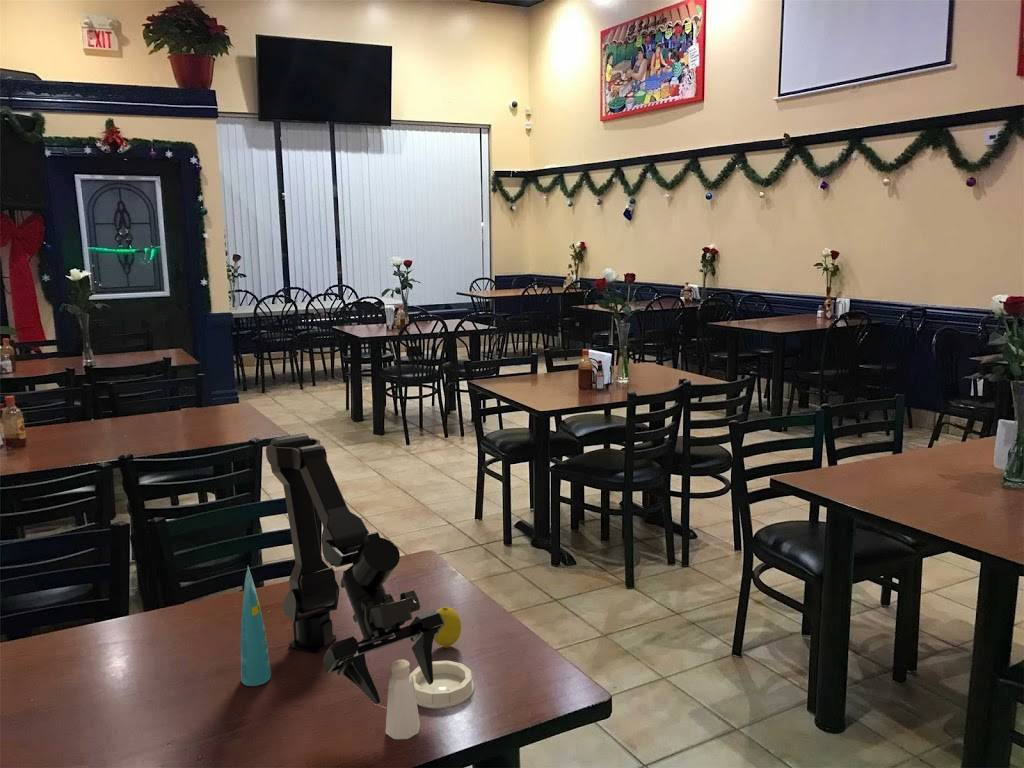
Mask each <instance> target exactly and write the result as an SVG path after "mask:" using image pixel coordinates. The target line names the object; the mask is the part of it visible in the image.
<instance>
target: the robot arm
mask: <svg viewBox="0 0 1024 768" xmlns="http://www.w3.org/2000/svg"><path fill="white" fill-rule="evenodd" d="M265 456H266V460H267V462H268V463H269V465H270V469H271V473H272V474H273V475H274V476H275V477H276V479H277V480H278V481H279V482H280V484H282V486H283V492H284V498H285V504H286V511H287V517H288V522H289V523H288V524H289V528H290V529H289V530H290V534H291V535H290V536H291V537H290V538H291V542H292V543H291V544H292V548H293V555H294V560H295V561H294V562H295V564H294V565H293V569H292V571H291V574H290V576H289V578H288V579H289V580H288V583H289V584H288V585H289V591H288V592H287V595H286V596H285V598H284V600H283V602H282V606H283V611H284V615H285V616H286V617H288V618H289V619H290V621H292V630H293V640H292V641H291V642H290V643H288V648H292V649H296V650H300V651H305V652H309V653H313V654H317V653H319V652H320V651H322V650H323V649H324V648H326V647H327V646H329V644H331V645H330V646H329V648H328V649H327V651H326V652H325V654H324V656H323V657H322V658H323V661H322V662H323V666H324V669H325V671H326V674H331V673H334V672H335V673H336V674H337V676H338V677H339V676H344V677H345V678H347V679H348V680H350V681H351V682H352V683H353V684H354V685H355V686H357V687H358V689H360V690H361V691H362V692H363V694H364V695H366V696H367V697H368V698H369V699H370V700H371V702H372V703H373V704H374V705H375V706H378V705H380V703H381V698H380V696H379V692H378V689H377V687H376V685H375V683H374V680H373V678H372V677H371V673H370V672H369V669H368V666H367V661H366V656H365V655H366V654H368V653H370V652H373V651H376V650H380V649H382V648H385V647H388V646H391V645H393V644H398V643H400V642H402V641H406V640H410V642H413V643H414V644H413V646H412V647H411V650H412V653H413V655H414V657H415V659H416V661H417V663H418V666H420V668H421V671H422V673H423V675H424V677H425V679H426V681H427V682H428V684H429V685H431V684H432V683H433V667H432V662H433V642H434V638H435V637H436V636H437V634H438V633H439V631H440V630H441V628H442V627H443V626H444V625H445V622H444V620H443V618H442V615H441V614H440V613H438V612H437V610H431V611H428V612H425V613H422V614H420V615H416V616H415V618H414V619H413V615H412V613H415V612H417V611H419V610H420V609H421V605H420V599H419V597H418V595H417V593H416V591H415V589H412V590H411V589H410V590H408V591H405V592H401V593H400V594H399V596H400V597H399V600H395V599H394V597H393V596H392V595H391V593H388V594H387V592H386V591H387V590H386V589H385V586H384V584H385V583H386V582H387V580H388V579H389V577H390V576H391V575H392V573H393V572H394V570H395V569H396V567H397V566H398V564H399V562H400V559H401V557H400V556H401V555H400V554H401V553H400V550H399V548H398V546H397V545H395V544H394V543H393V542H392V541H391V540H390V539H387V538H384V537H381V536H380V533H379V532H378V531H376V532H371V531H369V530H368V529H367V527H366V525H365V523H364V521H363V520H362V518H361V517H359V516H358V515H356V514H355V513H353V512H352V511H351V510H350V509H349V508H348V507H349V506H348V505H347V504H346V501H345V498H344V497H343V494H342V491H341V489H340V487H339V485H338V483H337V480H336V479H335V476H334V474H333V472H332V470H331V466H330V465H329V463H328V456H327V451H326V449H325V447H324V445H322V444H321V440H320V439H316V438H313V437H309V435H308V434H307V433H305V432H303V433H297V434H290V435H284V436H278V437H272V438H271V440H270V444H268V445H267V446H266V448H265ZM315 509H316V512H315ZM315 513H317V515H318V517H319V520H320V522H321V525H322V528H323V529H322V533H321V537H320V539H319V533H318V532H319V531H318V526H317V520H316V514H315ZM320 542H321V543H320ZM321 547H322V549H321ZM322 555H323V557H322ZM323 558H324V560H325V561H324V560H323ZM326 562H327V563H328V564H329V565H328V564H327V563H326ZM350 564H352V565H351V566H349V567H348V568H347V569H346V570H344V571H343V572H342V578H341V580H340V585H339V583H338V581H337V579H336V575H335V574H336V573H335V571H334V569H333V567H335V568H340V567H344V566H347V565H350ZM330 566H331V567H330ZM340 588H342V589H345V592H346V595H347V598H348V600H349V602H350V603H349V604H350V606H351V607H352V611H353V616H352V619H353V621H354V623H357V624H358V626H359V630H360V632H361V634H362V640H360V641H358V640H357V638H356V637H354V636H350V637H348V638H347V637H346V638H345V639H341V640H339V641H335V642H333V641H334V640H337V638H338V636H337V635H336V634H333V633H334V632H333V620H332V619H331V611H337V610H338V604H339V598H340V597H339V596H340ZM409 621H412V622H410V624H409V625H406V626H403V625H404V624H405V623H406V622H409ZM401 626H403V627H401Z"/></svg>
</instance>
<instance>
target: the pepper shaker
mask: <svg viewBox="0 0 1024 768" xmlns="http://www.w3.org/2000/svg"><path fill="white" fill-rule="evenodd" d="M410 665H411V664H410V662H409V661H408V660H407V659H397V660H394V661H393V662H392V663H391V664H390V668H391V676H390V677H389V681H388V687H387V689H388V690H387V705H386V721H385V734H386V735H388V736H389V737H390V738H391V739H393V740H409V739H410V738H413V737H414V736H416V735H418V734H419V732H420V726H421V723H420V716H419V715H420V714H419V708H418V705H417V701H416V694H415V687H414V681H413V676H411V675H410V673H411V672H410Z"/></svg>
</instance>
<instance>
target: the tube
mask: <svg viewBox="0 0 1024 768" xmlns="http://www.w3.org/2000/svg"><path fill="white" fill-rule="evenodd" d="M243 587H244V588H243V594H242V597H243V598H242V610H241V623H240V625H241V627H240V676H241V677H240V678H241V679H240V680H241V683H242V684H243V685H244V686H247V687H248V686H249V687H257V686H261V685H264V684H265V683H267V682H268V681H269V680H270V679H271V677H272V673H271V672H272V671H271V663H270V655H269V649H268V641H267V634H266V630H265V629H266V628H265V624H264V617H263V615H262V614H263V613H262V609H261V603H260V601H259V598H258V597H259V596H258V593H257V589H256V586H255V583H254V579H253V577H252V574H251V571H250V567H249V565H247V570H246V573H245V578H244V586H243Z"/></svg>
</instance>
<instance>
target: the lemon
mask: <svg viewBox="0 0 1024 768" xmlns="http://www.w3.org/2000/svg"><path fill="white" fill-rule="evenodd" d="M436 611H437V612H438V613H440V614H441V615H442V618H443V620H444V622H445V625H444V626H443V627H442V628H441V630H440V631H439V633H438V634H437V636H436V637H435V638H434V639H433V642H435V643H436V644H437V645H439V646H441V647H444V649H447V648H449V647H450V646H452V645H454V644H455V643H456V642H457V641H458V640H459V638H460V636H461V631H462V623H461V619H460V616H459V614H458V612H457V611H455V610H454V609H453V608H452V607H448V606H446V605H445V606H443V607H441V608H439V609H437V610H436Z"/></svg>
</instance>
